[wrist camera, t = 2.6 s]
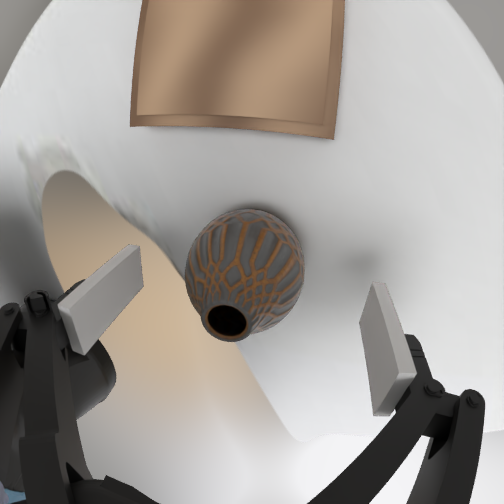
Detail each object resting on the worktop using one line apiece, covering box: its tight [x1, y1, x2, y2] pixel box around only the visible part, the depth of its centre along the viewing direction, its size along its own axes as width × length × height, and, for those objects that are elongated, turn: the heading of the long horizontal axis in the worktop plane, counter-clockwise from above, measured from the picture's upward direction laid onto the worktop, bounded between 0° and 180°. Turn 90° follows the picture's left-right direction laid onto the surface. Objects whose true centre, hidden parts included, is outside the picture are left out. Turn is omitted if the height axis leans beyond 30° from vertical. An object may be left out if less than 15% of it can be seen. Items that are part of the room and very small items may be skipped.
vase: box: [185, 209, 305, 342], centre depth 17 cm, size 7×7×9 cm
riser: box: [130, 0, 345, 140], centre depth 14 cm, size 12×12×3 cm
